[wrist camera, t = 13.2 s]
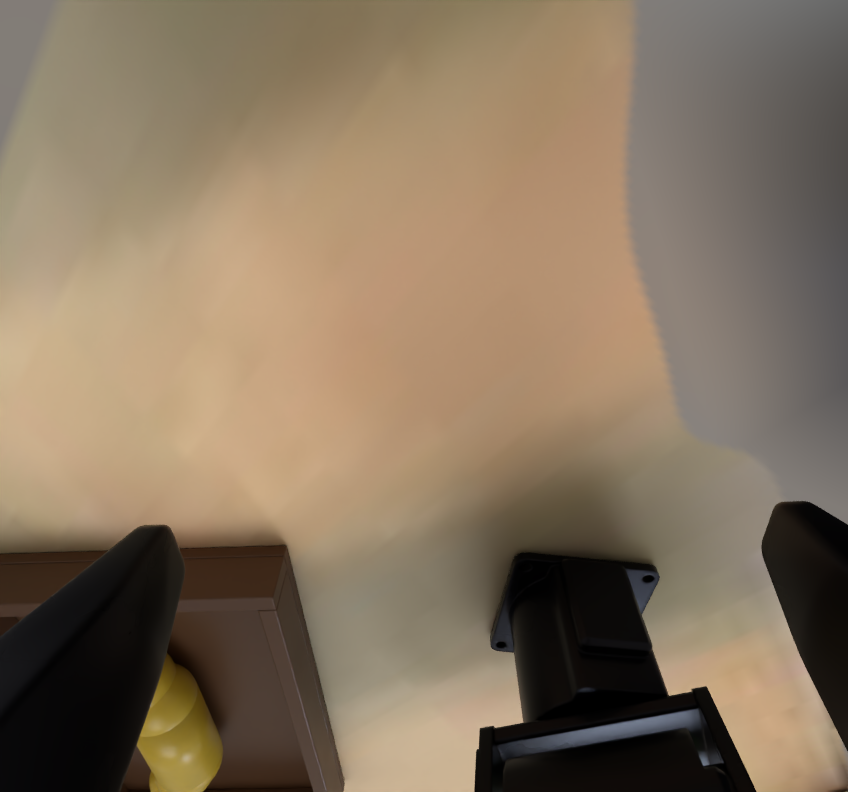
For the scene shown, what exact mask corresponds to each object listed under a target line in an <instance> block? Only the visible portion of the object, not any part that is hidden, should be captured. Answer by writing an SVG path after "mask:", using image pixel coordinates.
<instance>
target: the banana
mask: <svg viewBox="0 0 848 792" xmlns="http://www.w3.org/2000/svg"><path fill="white" fill-rule="evenodd" d="M137 747H138V749H139V750H140V752H141V754H142V756H143V757H144V759H145V761H146V762H147V764H148V766H149V767H150V769H151V773H150V777H149V787H150V791H151V792H203V791H204V790H205V789H206V788H207V786H208V785H209V784H210V782H211V781H212V779H213V778H214V777H215V775H216V774H217V772H218V770H219V768H220V765H221V762H222V757H223V745H222V740H221V737H220V735H219V733H218V730H217V728H216V726H215V723H214V721H213V719H212V717H211V714H210V712H209V710H208V707H207V705H206V703H205V701H204V698H203V696H202V694H201V691H200V689H199V687H198V684H197V682H196V680H195V678H194V677H193V675H192V674H191V673H190V671H189V670H187V669H186V668H185V667H183V666H181V665H179V664H175V663H174V662H173V660H172V658H171V657H170V655H169V654H168V653H167V654H166V658H165V662H164V665H163V669H162V673H161V676H160V679H159V682H158V685H157V688H156V691H155V694H154V697H153V700H152V703H151V706H150V709H149V711H148V714H147V717H146V720H145V723H144V726H143V728H142V731H141V734H140V737H139V740H138V743H137Z"/></svg>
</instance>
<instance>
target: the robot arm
mask: <svg viewBox="0 0 848 792" xmlns="http://www.w3.org/2000/svg"><path fill="white" fill-rule="evenodd" d="M762 555H763V558H764V561H765V564H766V567H767V569H768V572H769V575H770V577H771V580H772V583H773V585H774V588H775V591H776V593H777V596H778V599H779V601H780V604H781V607H782V610H783V612H784V615H785V618H786V620H787V623H788V626H789V628H790V631H791V634H792V636H793V639H794V641H795V644H796V646H797V649H798V651H799V654H800V656H801V658H802V660H803V662H804V664H805V667H806V669H807V671H808V673H809V675H810V677H811V679H812V681H813V683H814V685H815V687H816V689H817V691H818V693H819V695H820V697H821V699H822V701H823V703H824V705H825V707H826V709H827V711H828V713H829V715H830V717H831V719H832V721H833V723H834V725H835V727H836V729H837V731H838V733H839V735H840V737H841V739H842V741H843V743H844V745H845V747H846V749H847V751H848V525H847V524H846V523H844V522H842V521H841V520H839V519H837V518H836V517H834V516H832V515H831V514H829V513H827V512H826V511H824V510H822V509H821V508H819V507H818V506H816V505H814V504H812V503H810V502H806V501H793V502H780V503H778V504H777V505H776V506H775V507H774V509H773V511H772V514H771V517H770V520H769V523H768V526H767V528H766V531H765V534H764V537H763V540H762ZM526 563H527V564H526ZM184 577H185V563H184V560H183V557H182V555H181V552H180V549H179V547H178V544H177V542H176V539H175V537H174V534H173V532H172V530H171V528H170V527H168V526H167V525H144V526H140V527H138V528H137V529H135V530H134V531H132V532H131V533H130V534H129V535H127V536H126V537H125V538H124V539H122V540H121V541H120V542H119V543H117V544H116V545H115V546H114V547H112V548H111V549H110V550H109V551H107V552H106V553H105V554H103V555H102V556H101V557H100V558H98V559H97V560H96V561H95V562H93V563H92V564H91V565H90V566H88V567H87V568H86V569H85V570H83V571H82V572H81V573H80V574H78V575H77V576H76V577H75V578H73V579H72V580H71V581H69V582H68V583H67V584H66V585H64V586H63V587H62V588H61V589H59V590H58V591H57V592H56V593H54V594H53V595H52V596H51V597H49V598H48V599H47V600H46V601H44V602H43V603H42V604H41V605H39V606H38V607H37V608H36V609H34V610H33V611H32V612H30V613H29V614H28V615H27V616H25V617H24V618H23V619H22V620H20V621H19V622H18V623H17V624H15V625H14V626H13V627H12V628H10V629H9V630H8V631H7V632H5V633H4V634H3V635H2V636H0V792H120V791H121V788H122V785H123V783H124V780H125V777H126V774H127V771H128V768H129V765H130V763H131V760H132V757H133V754H134V751H135V748H136V746H137V743H138V740H139V737H140V734H141V731H142V728H143V726H144V723H145V720H146V717H147V714H148V711H149V709H150V706H151V703H152V700H153V697H154V694H155V691H156V688H157V685H158V682H159V679H160V676H161V673H162V669H163V665H164V662H165V658H166V654H167V649H168V645H169V641H170V637H171V632H172V628H173V624H174V620H175V615H176V611H177V607H178V603H179V598H180V594H181V590H182V586H183V581H184ZM659 578H660V576H659V574H658V572H657V569H656V567H655V566H653V565H650V564H642V563H632V562H621V561H611V560H600V559H589V558H579V557H568V556H558V555H547V554H537V553H520V554H518V555H516V556H515V557H514V559H513V562H512V565H511V569H510V572H509V575H508V579H507V582H506V585H505V589H504V592H503V595H502V599H501V602H500V606H499V609H498V612H497V616H496V619H495V622H494V626H493V629H492V632H491V636H490V642H491V647H492V649H494V650H496V651H503V652H514V656H515V663H516V671H517V678H518V686H519V693H520V701H521V708H522V716H523V723H520V724H515V725H509V726H504V727H498V728H495V727H494V726H490V727H484V728H480V736H479V749H477V751H476V770H475V792H756V790H755V788H754V785H753V783H752V781H751V779H750V777H749V775H748V773H747V771H746V768H745V766H744V764H743V762H742V760H741V758H740V756H739V754H738V752H737V750H736V747H735V745H734V743H733V741H732V739H731V737H730V735H729V733H728V731H727V728H726V726H725V724H724V722H723V720H722V718H721V716H720V714H719V712H718V710H717V707H716V705H715V703H714V701H713V699H712V697H711V695H710V693H709V691H708V688H707V687H706V686H705V687H700V688H694V689H692V692H688V693H682V694H677V695H672V696H669V695H668V692H667V689H666V687H665V684H664V681H663V678H662V675H661V672H660V670H659V667H658V664H657V661H656V658H655V655H654V652H653V650H652V643H651V640H650V637H649V634H648V631H647V629H646V626H645V623H644V620H643V617H642V613H643V611H644V609H645V607H646V605H647V603H648V601H649V599H650V597H651V595H652V593H653V591H654V589H655V587H656V585H657V583H658V581H659Z"/></svg>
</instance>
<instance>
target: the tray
mask: <svg viewBox="0 0 848 792" xmlns="http://www.w3.org/2000/svg"><path fill="white" fill-rule="evenodd" d="M106 552H107V551H90V552H56V553H23V554H0V636H2V635H3V634H4V633H5V632H7V631H8V630H9V629H10V628H12V627H13V626H14V625H15V624H17V623H18V622H19V621H20V620H22V619H23V618H24V617H25V616H27V615H28V614H29V613H30V612H32V611H33V610H34V609H36V608H37V607H38V606H39V605H41V604H42V603H43V602H44V601H46V600H47V599H48V598H49V597H51V596H52V595H53V594H54V593H56V592H57V591H58V590H59V589H61V588H62V587H63V586H64V585H66V584H67V583H68V582H69V581H71V580H72V579H73V578H75V577H76V576H77V575H78V574H80V573H81V572H82V571H83V570H85V569H86V568H87V567H88V566H90V565H91V564H92V563H93V562H95V561H96V560H97V559H98V558H100V557H101V556H102V555H103V554H105V553H106ZM180 552H181V555H182V557H183V560H184V563H185V577H184V581H183V586H182V590H181V594H180V598H179V603H178V607H177V611H176V615H175V620H174V624H173V628H172V632H171V637H170V641H169V645H168V649H167V653H168V654H169V655H170V657H171V658H172V660H173V662H174V663H175V664H179V665H181V666H183V667H185V668H186V669H187V670H189V671H190V673H191V674H192V675H193V677H194V678H195V680H196V682H197V684H198V687H199V689H200V691H201V694H202V696H203V698H204V701H205V703H206V705H207V707H208V710H209V712H210V714H211V717H212V719H213V721H214V723H215V726H216V728H217V730H218V733H219V735H220V737H221V740H222V745H223V757H222V762H221V765H220V768H219V770H218V772H217V774H216V775H215V777H214V778H213V779H212V781H211V782H210V784H209V785H208V786H207V788H206V789H205V790H204V791H203V792H343V791H344V779H343V775H342V771H341V767H340V763H339V759H338V755H337V750H336V746H335V742H334V738H333V734H332V730H331V726H330V722H329V718H328V714H327V710H326V705H325V701H324V697H323V693H322V689H321V685H320V681H319V677H318V673H317V669H316V665H315V660H314V656H313V652H312V648H311V644H310V640H309V636H308V632H307V628H306V624H305V619H304V615H303V611H302V607H301V603H300V599H299V595H298V591H297V587H296V583H295V579H294V574H293V570H292V566H291V562H290V558H289V554H288V550H287V546H259V547H225V548H191V549H180ZM150 773H151V769H150V767H149V766H148V764H147V762H146V761H145V759H144V757H143V756H142V754H141V752H140V750H139V749H138V747H137V746H136V748H135V751H134V754H133V757H132V760H131V763H130V765H129V768H128V771H127V774H126V777H125V780H124V783H123V785H122V788H121V791H120V792H151V791H150V787H149V777H150Z"/></svg>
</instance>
